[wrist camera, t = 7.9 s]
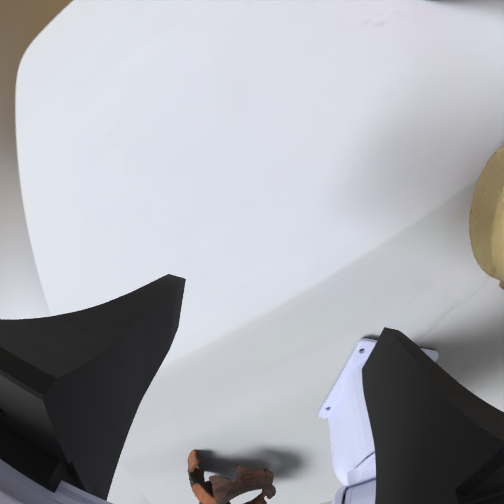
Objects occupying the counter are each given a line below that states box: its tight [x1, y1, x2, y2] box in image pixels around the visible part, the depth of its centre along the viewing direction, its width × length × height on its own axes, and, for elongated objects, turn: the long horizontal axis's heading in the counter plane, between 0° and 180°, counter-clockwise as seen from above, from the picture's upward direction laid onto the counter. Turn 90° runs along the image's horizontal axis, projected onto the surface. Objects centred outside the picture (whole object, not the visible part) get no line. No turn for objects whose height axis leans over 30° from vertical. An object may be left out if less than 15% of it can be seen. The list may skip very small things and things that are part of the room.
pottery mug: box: [188, 450, 276, 504], centre depth 29 cm, size 12×10×8 cm
